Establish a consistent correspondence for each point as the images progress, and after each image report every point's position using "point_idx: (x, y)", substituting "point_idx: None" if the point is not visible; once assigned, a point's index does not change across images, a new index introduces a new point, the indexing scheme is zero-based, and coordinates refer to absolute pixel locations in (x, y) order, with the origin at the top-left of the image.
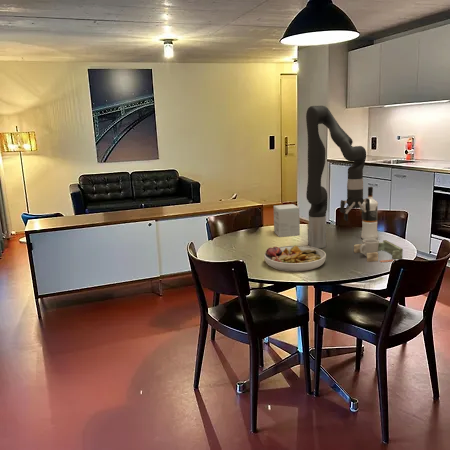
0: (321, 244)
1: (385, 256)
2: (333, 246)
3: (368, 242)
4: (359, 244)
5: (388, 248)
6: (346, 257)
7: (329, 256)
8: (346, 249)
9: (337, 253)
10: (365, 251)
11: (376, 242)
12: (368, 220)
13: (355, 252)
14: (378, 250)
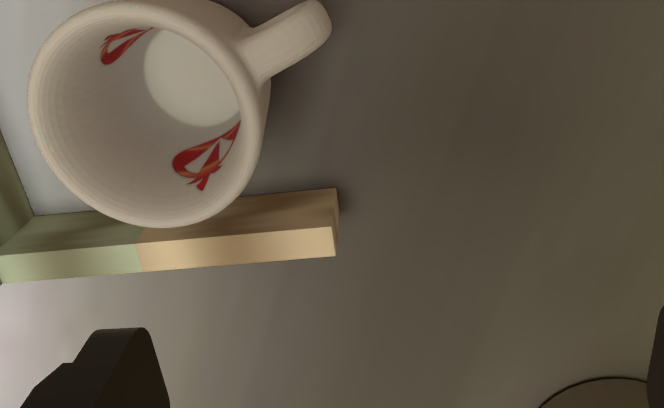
0: (608, 405)
1: (46, 13)
2: (466, 402)
3: (193, 30)
4: (270, 254)
5: None
6: (475, 53)
7: (642, 122)
8: (381, 305)
9: (514, 206)
10: (258, 27)
11: (71, 16)
12: None
13: (330, 189)
14: (90, 212)
